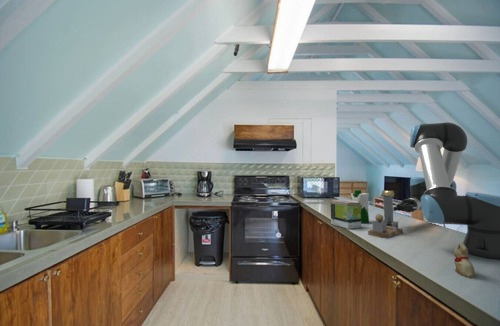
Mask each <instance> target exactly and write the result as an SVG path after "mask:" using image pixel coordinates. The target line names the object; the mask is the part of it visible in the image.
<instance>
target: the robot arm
mask: <svg viewBox="0 0 500 326" xmlns="http://www.w3.org/2000/svg"><path fill="white" fill-rule="evenodd" d="M467 136H468V135H467V134H466V132H465V130H464V129H463V128H462V127H461V126H459V125H458V124H456V123H453V122H440V123H439V122H438V123H437V122H436V123H419V124H415V125H412V127H411V130H410V137H409V147H410V148H412V149H413V148H414V150H415V152H416V153H418V154H419V158H420V162H421V168H422V173H423V177H419V176H415V177H414V176H413V177H411V178H410V181H409V183H410V184H409V185H410V189H409V190H410V197H409V198H405V199H404V198H403V200H402V201H401V202H398V203H395V202H393V212H396V211H397V212H398V211H399V212H400V211H402V212H406V213H414V212H415V211H422V215H423V217H424V218H425V220H426V221H427V222H429V223H431V224H438V225H458V226H459V225H461V226H467V230H466V231H467V232H466V234H465V237H464V239H463V241H462V242H463V243H464V245H465V246H466V248H467V249H468V254H471V255H474V256H478V257H482V258H487V259H488V258H489V259H497V260H500V195H495V194H489V193H481V192H474V191H472V192H470V191H467V192H466V193H465V195H458V192H457V184H456V182H455V180H454V179H455V175H456V172H457V169H458V166H459V164H460V160H461V156H462V153H463V152H464V151H465V150H466V149H467V147H468V146H467V145H468V137H467ZM441 149H443V152H442V151H441Z"/></svg>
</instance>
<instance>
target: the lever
mask: <svg viewBox="0 0 500 326" xmlns="http://www.w3.org/2000/svg"><path fill="white" fill-rule="evenodd" d="M381 196H382V197H383V213H384V214H383V220H384V221H385V222H387V223H388V224H392V222H394V211H393V203H394V202H393V198H394V197H395V191H394V190H382V191H381Z"/></svg>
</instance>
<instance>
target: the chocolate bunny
mask: <svg viewBox="0 0 500 326" xmlns="http://www.w3.org/2000/svg"><path fill="white" fill-rule="evenodd" d="M453 251H454V252H453V255H454V257H455V258H454V265H455V269H454V271H455V272H456V273H457V274H458V275H460V276H462V277H465V278H469V279H473V278H475V277H476V270H475V267H474V265H473V263H472V262H471V261H470V258H469V253H468V249H467V248H466V246H465V245H464V243H463V241H462V242H459V243H458V244H457V247H456V248H455V249H454V250H453Z"/></svg>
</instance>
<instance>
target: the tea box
mask: <svg viewBox="0 0 500 326" xmlns="http://www.w3.org/2000/svg"><path fill="white" fill-rule="evenodd" d="M330 224H331V225H333V226H338V227H341V228H344V229H347V230H350V229H359V228H362V224H361V203H360V202H357V201H352V200H349V199H348V200H347V199H333V200H330Z"/></svg>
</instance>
